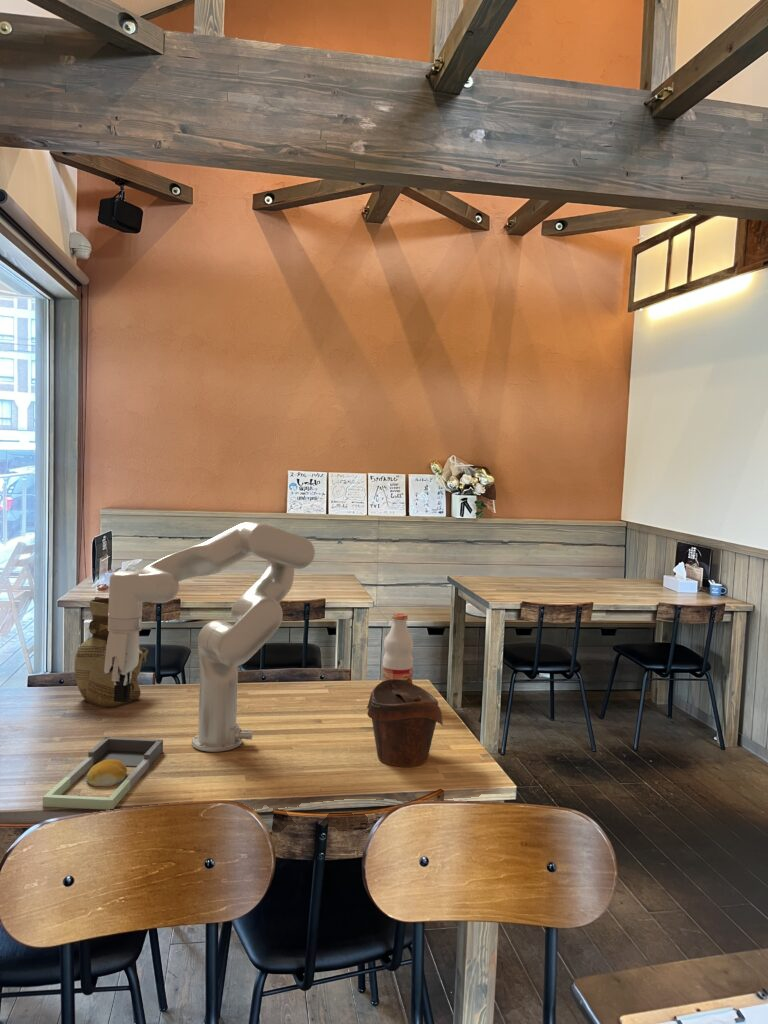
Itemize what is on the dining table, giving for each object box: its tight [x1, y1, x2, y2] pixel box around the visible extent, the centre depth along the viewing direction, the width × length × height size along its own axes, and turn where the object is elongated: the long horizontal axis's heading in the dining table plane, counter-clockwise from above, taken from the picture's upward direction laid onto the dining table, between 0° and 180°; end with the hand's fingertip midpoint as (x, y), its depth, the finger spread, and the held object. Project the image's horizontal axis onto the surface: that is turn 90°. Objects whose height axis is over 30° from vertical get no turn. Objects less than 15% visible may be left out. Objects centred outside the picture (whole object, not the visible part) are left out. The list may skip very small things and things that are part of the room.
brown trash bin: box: [366, 679, 444, 768], centre depth 184 cm, size 18×20×18 cm
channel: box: [42, 736, 164, 811], centre depth 166 cm, size 14×32×3 cm, turn 179°
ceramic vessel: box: [74, 597, 149, 709], centre depth 221 cm, size 19×21×30 cm
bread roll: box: [86, 759, 128, 787], centre depth 165 cm, size 8×9×4 cm
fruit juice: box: [381, 613, 414, 684], centre depth 226 cm, size 9×9×28 cm
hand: (121, 700), depth 174 cm, fingers closed
